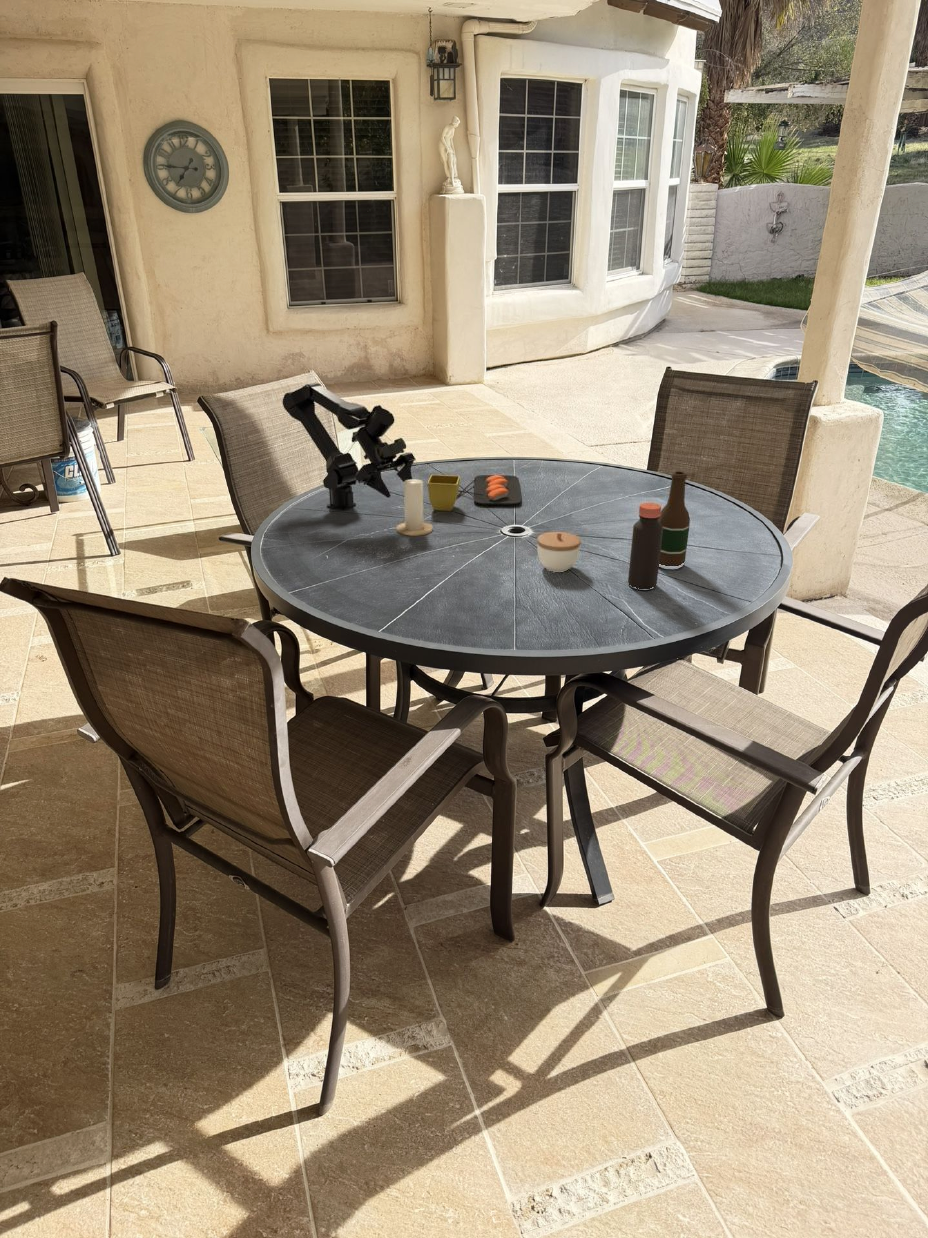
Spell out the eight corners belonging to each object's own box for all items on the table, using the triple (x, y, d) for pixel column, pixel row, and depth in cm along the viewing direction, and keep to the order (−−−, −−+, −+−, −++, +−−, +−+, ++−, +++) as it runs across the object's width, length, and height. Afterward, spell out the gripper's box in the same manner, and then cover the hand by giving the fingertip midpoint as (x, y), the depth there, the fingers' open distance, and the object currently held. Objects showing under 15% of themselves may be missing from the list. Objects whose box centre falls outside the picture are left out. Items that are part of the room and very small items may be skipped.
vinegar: (650, 593, 203) (659, 512, 194) (623, 587, 206) (630, 507, 198) (660, 583, 208) (669, 504, 199) (634, 577, 211) (641, 499, 203)
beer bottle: (685, 561, 221) (697, 470, 211) (682, 572, 215) (694, 478, 204) (655, 557, 224) (665, 466, 213) (651, 568, 217) (661, 475, 206)
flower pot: (460, 504, 261) (460, 475, 257) (457, 513, 254) (457, 484, 250) (431, 503, 262) (431, 474, 258) (427, 512, 254) (427, 483, 250)
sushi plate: (521, 509, 259) (522, 497, 258) (421, 508, 260) (421, 495, 258) (518, 480, 286) (518, 469, 284) (427, 479, 286) (427, 468, 284)
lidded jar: (550, 579, 210) (552, 543, 206) (527, 564, 219) (529, 529, 215) (587, 571, 215) (589, 536, 211) (563, 557, 223) (565, 523, 219)
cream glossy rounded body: (403, 529, 239) (401, 484, 233) (407, 523, 244) (406, 478, 238) (421, 530, 238) (420, 485, 233) (425, 524, 243) (424, 479, 237)
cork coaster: (389, 531, 240) (389, 529, 239) (410, 521, 247) (410, 519, 247) (419, 538, 235) (419, 536, 235) (439, 527, 243) (439, 525, 242)
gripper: (361, 436, 229) (391, 485, 228) (410, 423, 242) (439, 470, 240) (342, 458, 237) (371, 506, 236) (391, 445, 250) (418, 491, 249)
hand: (401, 493), depth 240 cm, fingers open, 9 cm apart
